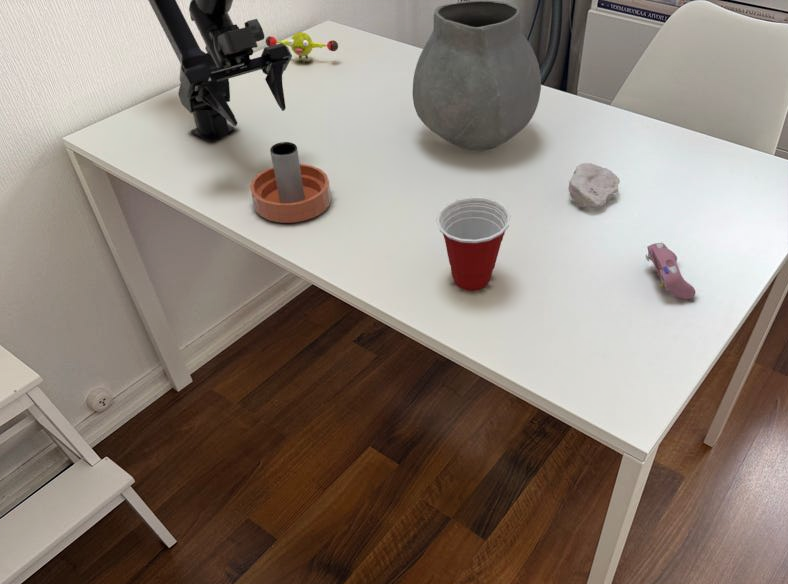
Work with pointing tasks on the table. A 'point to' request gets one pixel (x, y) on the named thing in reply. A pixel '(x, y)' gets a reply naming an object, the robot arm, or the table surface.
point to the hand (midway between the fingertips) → (260, 117)
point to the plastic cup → (473, 238)
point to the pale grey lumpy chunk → (592, 185)
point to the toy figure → (302, 44)
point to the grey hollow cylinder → (287, 172)
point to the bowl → (298, 211)
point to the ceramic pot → (476, 75)
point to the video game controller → (669, 271)
